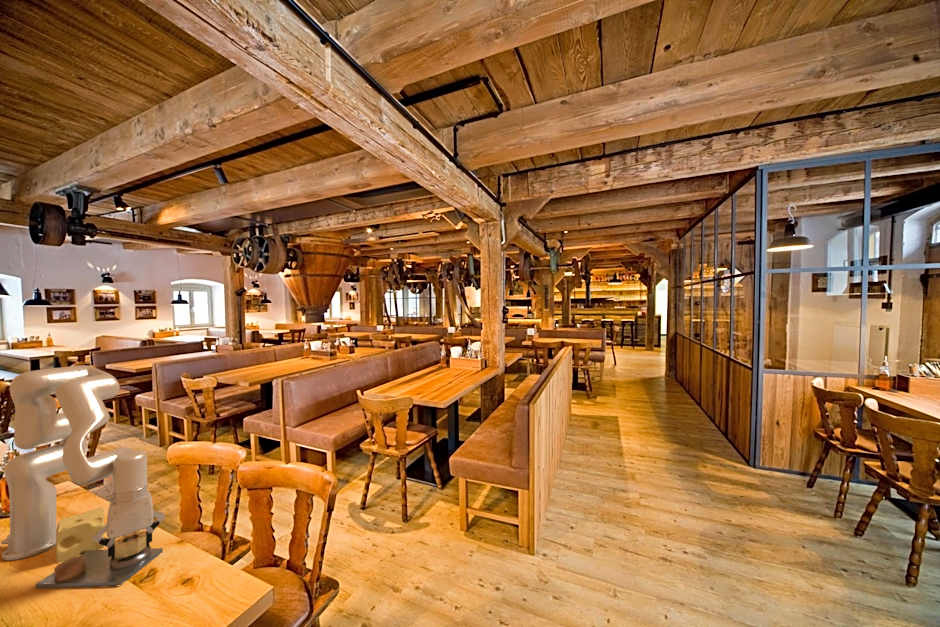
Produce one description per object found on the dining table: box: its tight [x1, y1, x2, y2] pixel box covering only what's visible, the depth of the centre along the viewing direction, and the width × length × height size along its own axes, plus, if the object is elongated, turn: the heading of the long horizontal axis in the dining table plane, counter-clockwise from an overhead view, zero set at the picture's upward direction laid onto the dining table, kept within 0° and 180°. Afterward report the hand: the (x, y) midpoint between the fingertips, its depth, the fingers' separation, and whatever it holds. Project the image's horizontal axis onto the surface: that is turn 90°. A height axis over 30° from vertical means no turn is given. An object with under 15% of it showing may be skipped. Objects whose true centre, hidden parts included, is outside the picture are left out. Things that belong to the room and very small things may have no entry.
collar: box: [114, 530, 147, 558], centre depth 106 cm, size 7×7×4 cm
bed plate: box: [34, 547, 163, 590], centre depth 104 cm, size 23×14×1 cm, turn 92°
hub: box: [110, 538, 152, 570], centre depth 106 cm, size 9×9×7 cm
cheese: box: [55, 506, 105, 564], centre depth 113 cm, size 10×11×10 cm
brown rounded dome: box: [54, 555, 86, 582], centre depth 100 cm, size 6×6×4 cm
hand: (130, 550), depth 106 cm, fingers closed on collar, 7 cm apart
